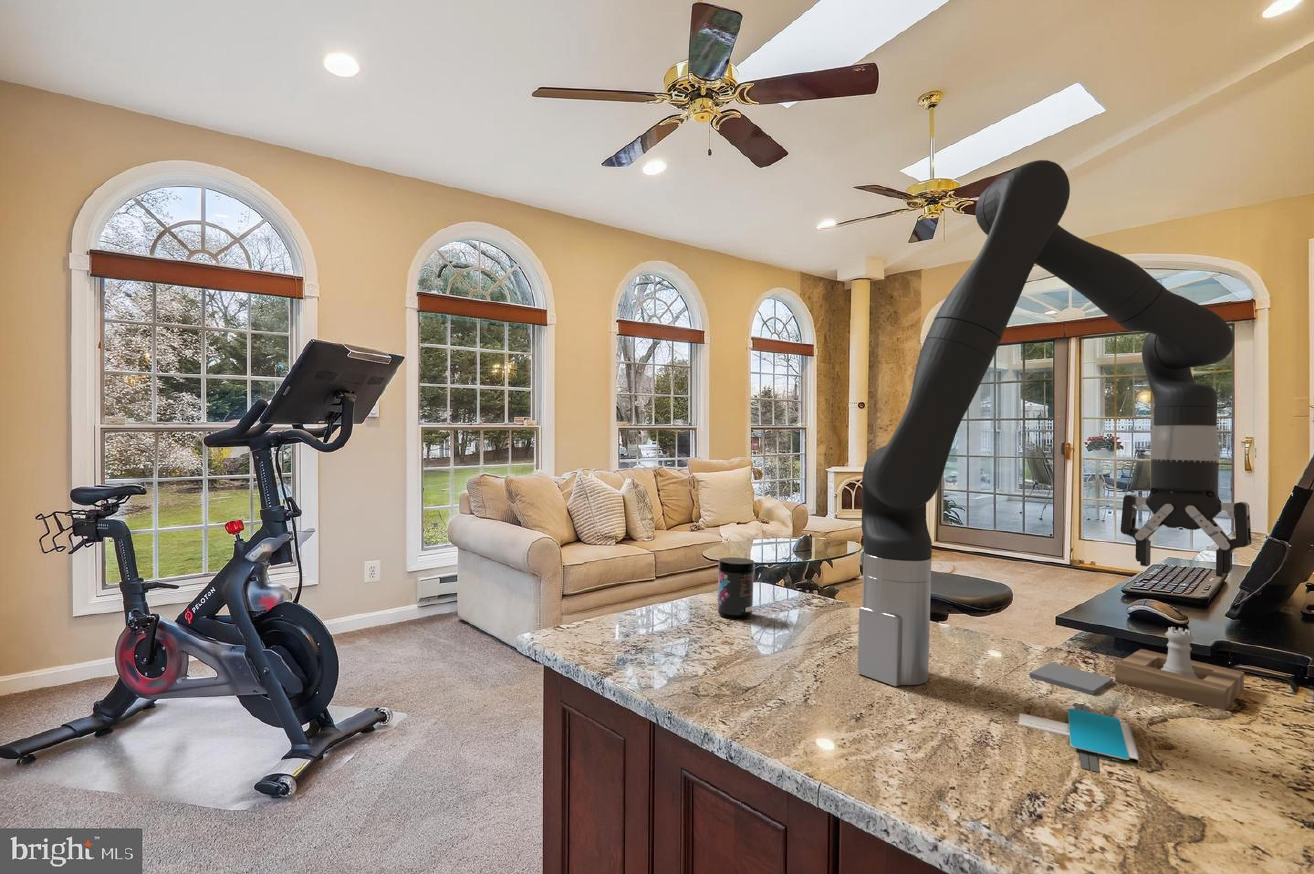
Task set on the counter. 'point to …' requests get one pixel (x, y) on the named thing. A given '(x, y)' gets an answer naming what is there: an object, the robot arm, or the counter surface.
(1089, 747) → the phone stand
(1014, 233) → the robot arm
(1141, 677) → the pocket block
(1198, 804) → the counter surface
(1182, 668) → the rook chess piece
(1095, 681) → the slate coaster
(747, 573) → the supplement container
